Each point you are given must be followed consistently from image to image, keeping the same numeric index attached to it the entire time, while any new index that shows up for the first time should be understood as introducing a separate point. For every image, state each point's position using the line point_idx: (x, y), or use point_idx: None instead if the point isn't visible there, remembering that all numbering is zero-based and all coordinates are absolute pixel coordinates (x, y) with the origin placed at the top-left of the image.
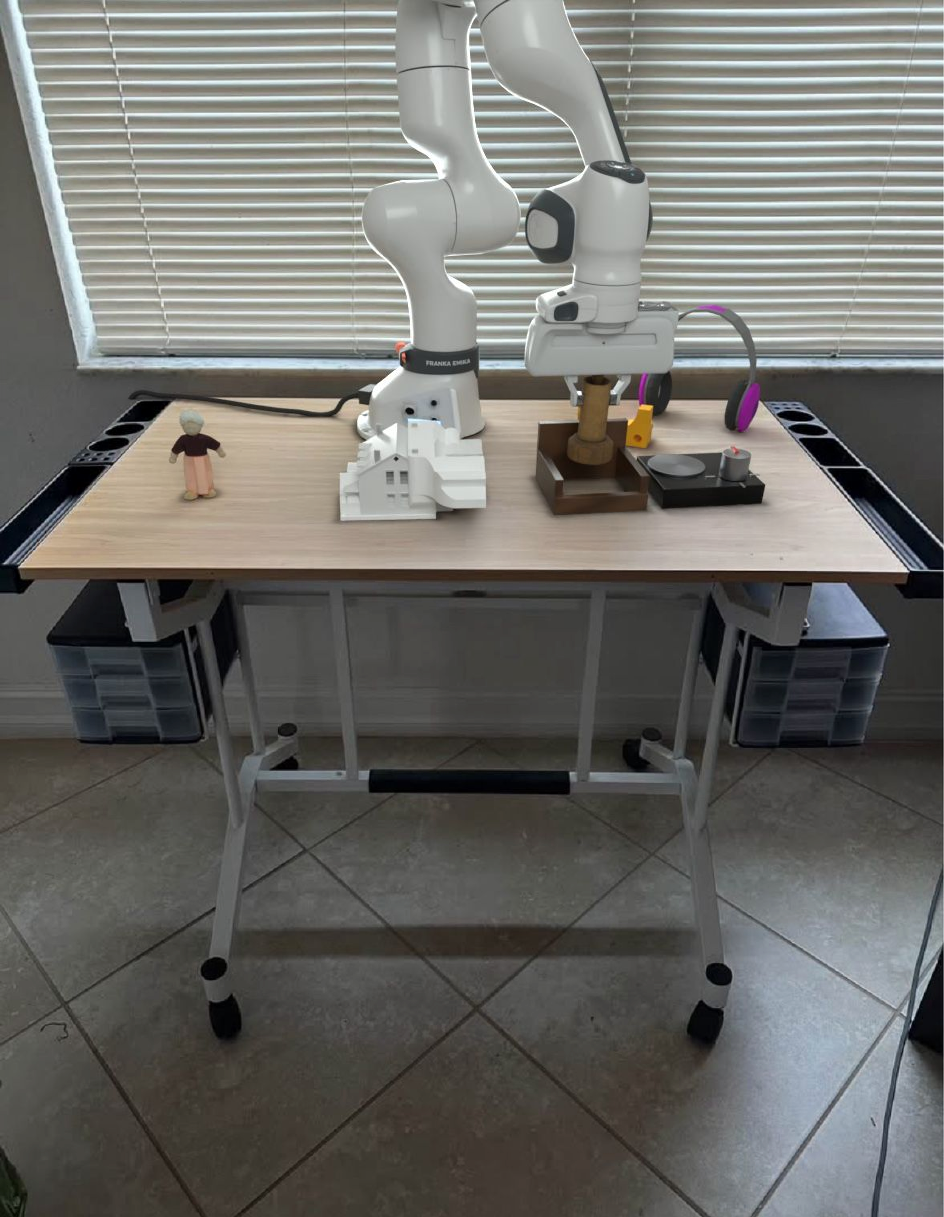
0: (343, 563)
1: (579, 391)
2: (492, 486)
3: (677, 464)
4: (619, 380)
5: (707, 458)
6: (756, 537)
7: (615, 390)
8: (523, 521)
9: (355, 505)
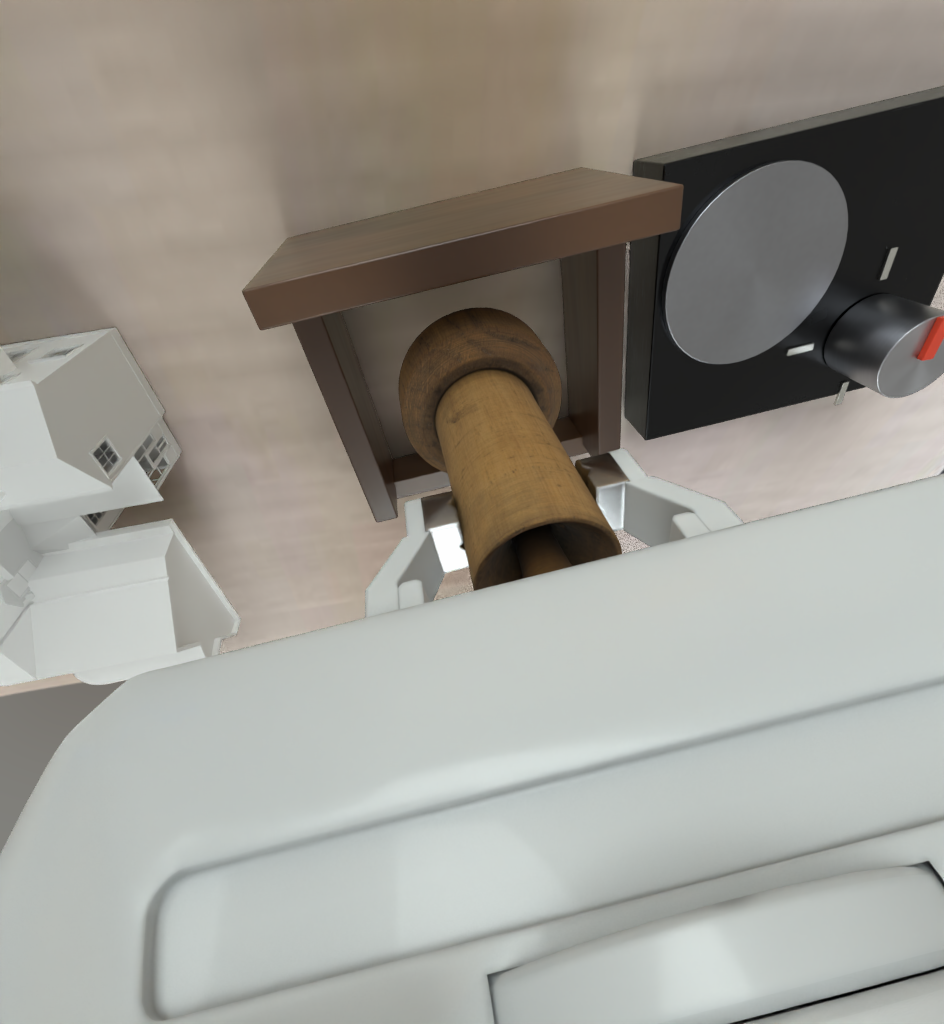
0: (50, 679)
1: (450, 532)
2: (163, 328)
3: (757, 275)
4: (676, 509)
5: (896, 173)
6: (743, 502)
7: (629, 509)
8: (315, 513)
9: None
